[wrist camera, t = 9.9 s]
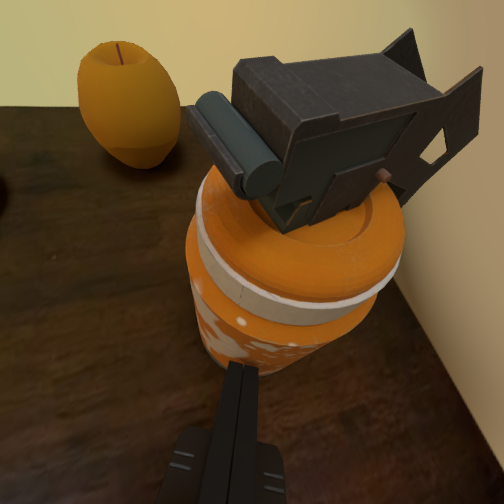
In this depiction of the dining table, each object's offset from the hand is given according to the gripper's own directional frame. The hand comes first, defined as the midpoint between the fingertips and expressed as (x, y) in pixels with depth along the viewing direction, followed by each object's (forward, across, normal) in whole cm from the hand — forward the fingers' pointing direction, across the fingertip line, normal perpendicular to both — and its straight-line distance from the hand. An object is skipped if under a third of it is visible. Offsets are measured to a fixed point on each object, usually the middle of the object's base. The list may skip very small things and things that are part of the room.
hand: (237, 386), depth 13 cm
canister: (+10, +1, -1) cm, 10 cm away
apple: (+21, -16, +10) cm, 29 cm away
